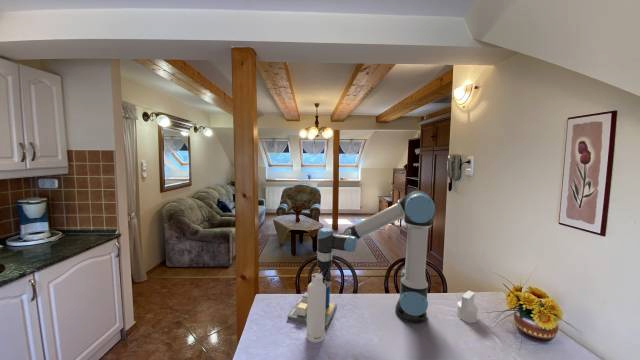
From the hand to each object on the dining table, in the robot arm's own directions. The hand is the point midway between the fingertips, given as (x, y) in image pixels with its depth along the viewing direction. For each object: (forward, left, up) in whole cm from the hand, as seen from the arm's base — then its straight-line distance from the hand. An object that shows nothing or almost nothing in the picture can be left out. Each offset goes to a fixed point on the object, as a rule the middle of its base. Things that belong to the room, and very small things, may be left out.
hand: (323, 299), depth 133 cm
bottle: (-2, +19, -6) cm, 20 cm away
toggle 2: (+9, -1, -4) cm, 10 cm away
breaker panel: (+4, +4, -6) cm, 8 cm away
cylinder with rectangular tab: (-70, -21, -7) cm, 74 cm away
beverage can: (0, 0, -4) cm, 4 cm away
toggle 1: (+8, +9, -4) cm, 13 cm away
